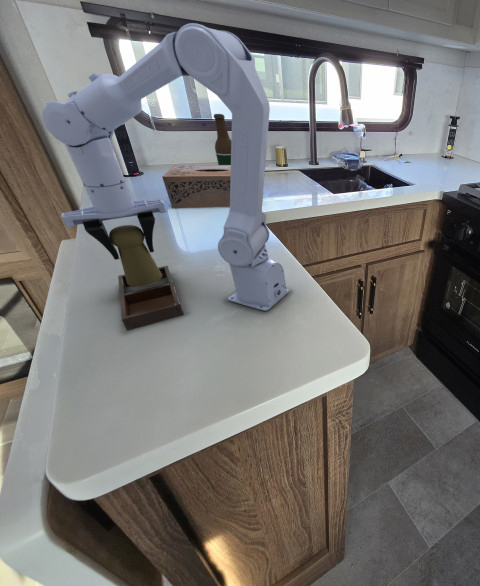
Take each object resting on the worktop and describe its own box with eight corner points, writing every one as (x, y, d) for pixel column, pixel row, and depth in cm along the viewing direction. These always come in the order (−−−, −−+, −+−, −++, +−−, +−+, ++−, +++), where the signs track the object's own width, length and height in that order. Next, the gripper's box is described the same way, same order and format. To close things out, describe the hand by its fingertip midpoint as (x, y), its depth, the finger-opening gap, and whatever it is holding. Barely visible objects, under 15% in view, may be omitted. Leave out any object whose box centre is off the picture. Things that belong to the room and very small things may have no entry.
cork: (155, 268, 70) (136, 218, 64) (167, 278, 67) (148, 227, 61) (122, 278, 66) (98, 227, 60) (133, 290, 63) (109, 237, 57)
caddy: (183, 314, 63) (179, 304, 61) (127, 330, 58) (121, 319, 57) (171, 275, 74) (167, 265, 72) (122, 286, 69) (118, 275, 68)
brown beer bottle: (246, 180, 135) (234, 114, 122) (230, 184, 130) (215, 116, 116) (234, 177, 139) (221, 112, 125) (217, 181, 133) (202, 113, 120)
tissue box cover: (259, 192, 124) (255, 165, 119) (256, 205, 113) (251, 175, 107) (183, 194, 118) (174, 165, 113) (172, 208, 107) (162, 176, 101)
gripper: (150, 172, 63) (173, 238, 70) (48, 181, 55) (85, 254, 62) (157, 181, 58) (180, 250, 66) (47, 193, 50) (87, 270, 58)
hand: (134, 253), depth 64 cm, fingers closed on cork, 5 cm apart
